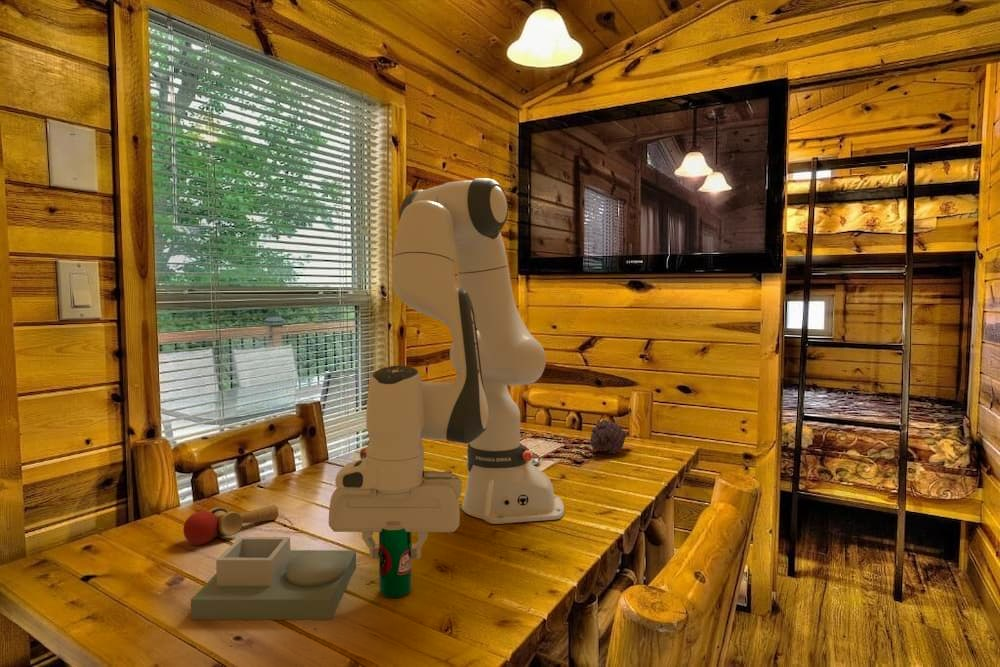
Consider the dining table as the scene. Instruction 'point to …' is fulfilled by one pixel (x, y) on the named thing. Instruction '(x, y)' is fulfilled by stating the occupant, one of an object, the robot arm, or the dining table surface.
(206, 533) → the kendama
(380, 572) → the soda can
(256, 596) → the grey desk organizer tray
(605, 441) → the pine cone
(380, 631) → the dining table surface
